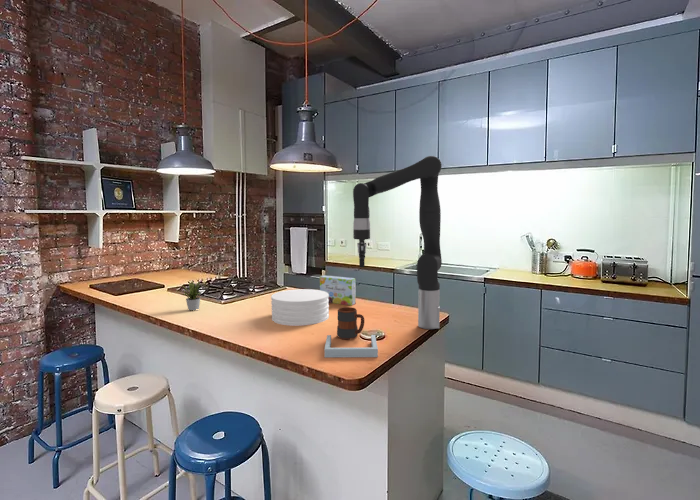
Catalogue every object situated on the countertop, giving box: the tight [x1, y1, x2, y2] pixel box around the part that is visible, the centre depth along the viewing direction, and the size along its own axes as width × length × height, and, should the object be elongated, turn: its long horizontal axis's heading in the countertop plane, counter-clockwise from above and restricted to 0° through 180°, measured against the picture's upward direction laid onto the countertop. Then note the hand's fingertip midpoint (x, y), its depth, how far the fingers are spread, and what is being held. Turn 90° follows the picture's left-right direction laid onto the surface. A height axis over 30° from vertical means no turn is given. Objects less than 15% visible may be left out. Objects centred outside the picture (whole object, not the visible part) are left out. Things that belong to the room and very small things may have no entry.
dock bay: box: [324, 334, 379, 358], centre depth 142 cm, size 19×16×3 cm
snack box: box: [319, 274, 357, 307], centre depth 215 cm, size 21×6×15 cm, turn 62°
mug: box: [336, 306, 365, 341], centre depth 155 cm, size 9×12×12 cm
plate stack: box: [270, 288, 330, 327], centre depth 186 cm, size 28×28×12 cm
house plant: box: [179, 280, 206, 311], centre depth 201 cm, size 14×14×16 cm
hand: (361, 266), depth 170 cm, fingers open, 3 cm apart
